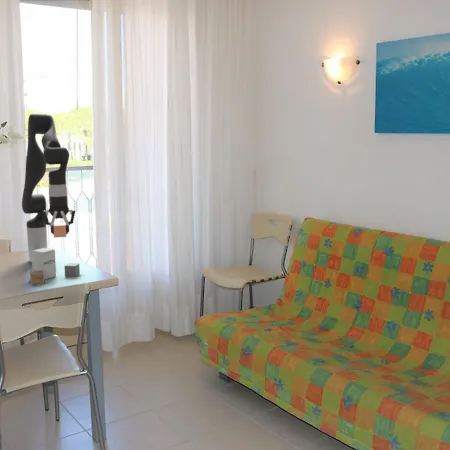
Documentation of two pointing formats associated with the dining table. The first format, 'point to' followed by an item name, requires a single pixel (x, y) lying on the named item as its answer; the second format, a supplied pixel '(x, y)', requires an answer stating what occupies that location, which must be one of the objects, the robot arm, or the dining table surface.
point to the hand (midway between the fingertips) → (60, 233)
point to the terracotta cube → (59, 230)
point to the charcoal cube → (72, 270)
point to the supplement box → (44, 262)
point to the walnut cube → (36, 277)
